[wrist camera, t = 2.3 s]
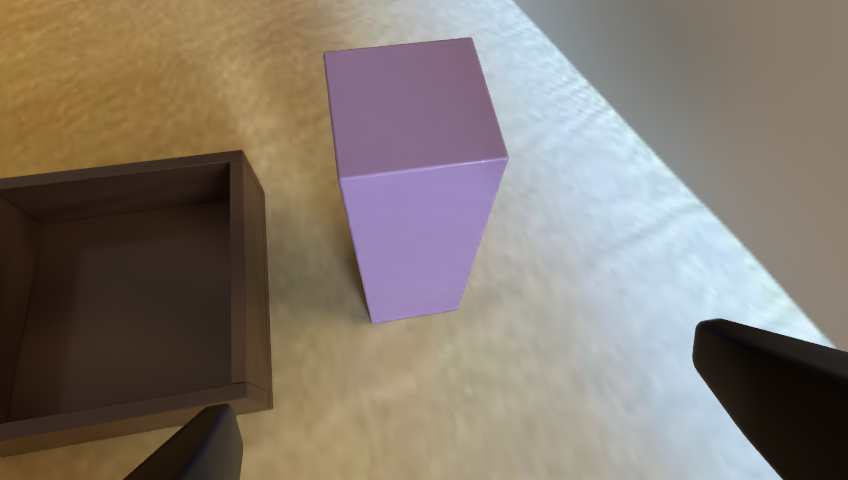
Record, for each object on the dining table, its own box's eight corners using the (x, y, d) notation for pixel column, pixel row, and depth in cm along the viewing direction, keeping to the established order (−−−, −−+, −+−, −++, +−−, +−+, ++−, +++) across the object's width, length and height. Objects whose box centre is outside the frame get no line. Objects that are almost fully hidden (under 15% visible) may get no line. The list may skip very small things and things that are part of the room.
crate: (273, 409, 21) (247, 398, 17) (-4, 458, 19) (-91, 457, 16) (264, 191, 25) (242, 149, 22) (40, 220, 24) (-20, 180, 21)
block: (457, 310, 23) (510, 158, 12) (371, 324, 22) (337, 179, 11) (441, 233, 25) (472, 35, 13) (361, 245, 24) (322, 50, 13)
